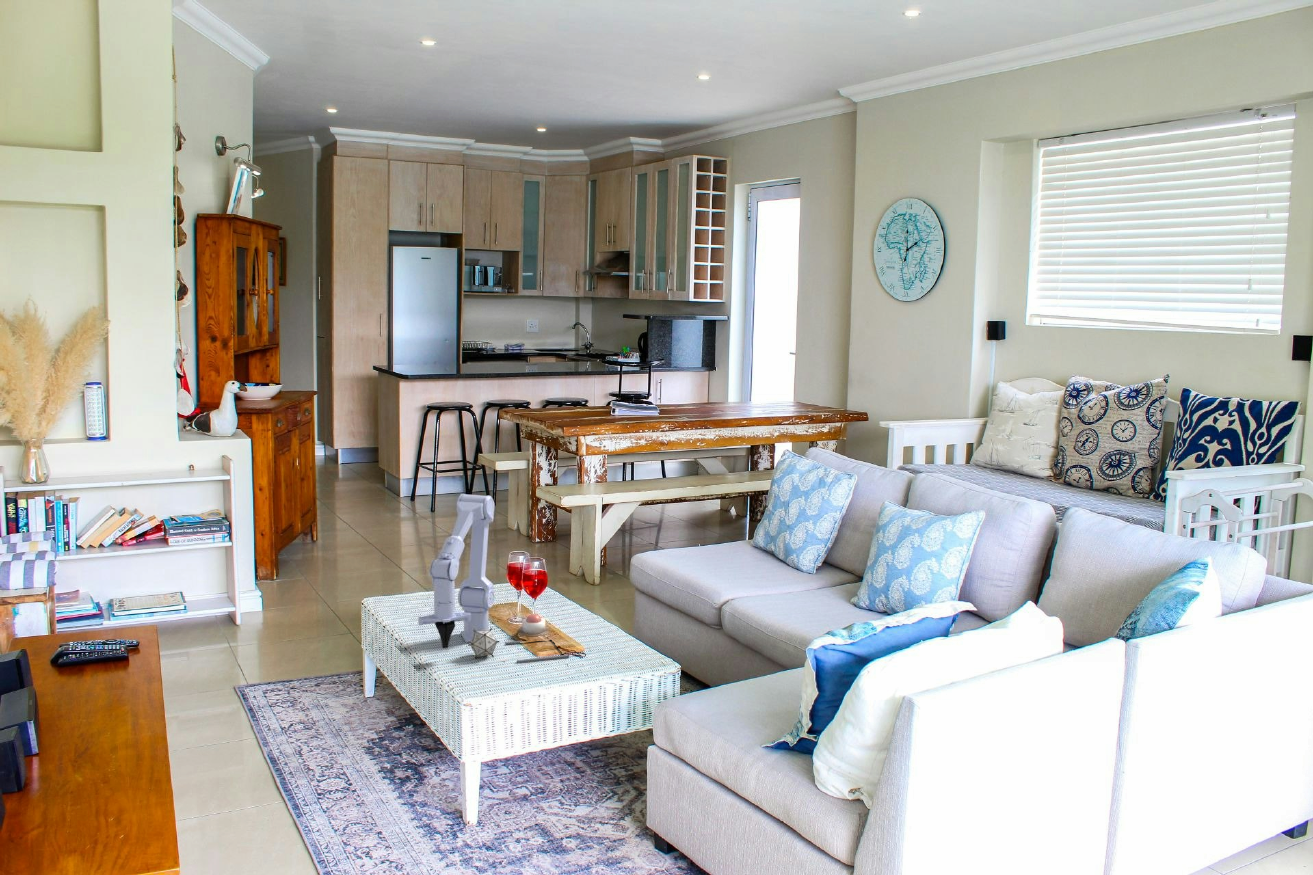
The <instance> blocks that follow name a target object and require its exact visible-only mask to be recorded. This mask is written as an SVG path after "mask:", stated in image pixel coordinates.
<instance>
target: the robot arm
mask: <svg viewBox="0 0 1313 875" xmlns="http://www.w3.org/2000/svg"><path fill="white" fill-rule="evenodd" d="M456 500H457V501H456V513H457V518H456V519H455V520H456V521H455V523H454V527H453V530H452V533H451V536H448V537H446V538H445V540H444V543H443V545H442V548H441V550H440V553H439V555H438V557H437V558H436V559H434V560H433V561H432V562H431V564H430V568H429V575H430V578H431V584H432V586H433V608H434V609H433V610H434V611H433V613H434V614H433V613H432V614H429V615H424V616H418V617H417V622H418V626H419V627H420V626H423V625H430V624H431V625H432V624H433V625H434V626H435V628H436V629H437V632H438V634H439V638H440V641H441V642H440V643H441V647H442V649H448V648H449V642H450V639H451V636H452V634H453V631H454V630H455V627H456V623H457V622H463V630H461V631H460V634H461V636H462V638H463V640H464V642H465V643H471V641H472V639H473V636H474V633H475V632H474V630H476V631H487V630H490V629H489V628H490V627H489V619H490V618H489V610H490V609H492V607H493V605H494V604H495V597H496V596H495V591H494V590H495V589H494V587H495V586H494V583H492V582H491V581H490V580H489V579H488V578H487V577H486V570H487V557H488V556H487V555H488V543H489V542H488V541H489V530H490V529H489V528H490V526H489V525H490V523H491V524H492V523H493V522H494V516H495V502H494V499H493V497H492V496H491V495H479V494H465V493H461V494H460V495H459V496H458V498H457V499H456ZM470 528H471V537H470V538H471V539H470V540H471V541H470V551H469V552H470V553H469V567H468V577H467V578H465V579H463V581H461V583H460V587H459V591H458V593H457V602H458V605H459V606H460V607H461V610H462V611H464V612H456V610H455V609H456V605H455V604H456V600H455V599H456V598H455V596H456V595H455V594H456V593H455V587H456V586H455V584H456V583H455V580H456V578H457V576H458V574H459V566H460V559H461V557H462V554H463V552H464V548H465V547H466V546H465V542H464V539H465V538H466V535H467V534H468V532H469V530H470Z"/></svg>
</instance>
